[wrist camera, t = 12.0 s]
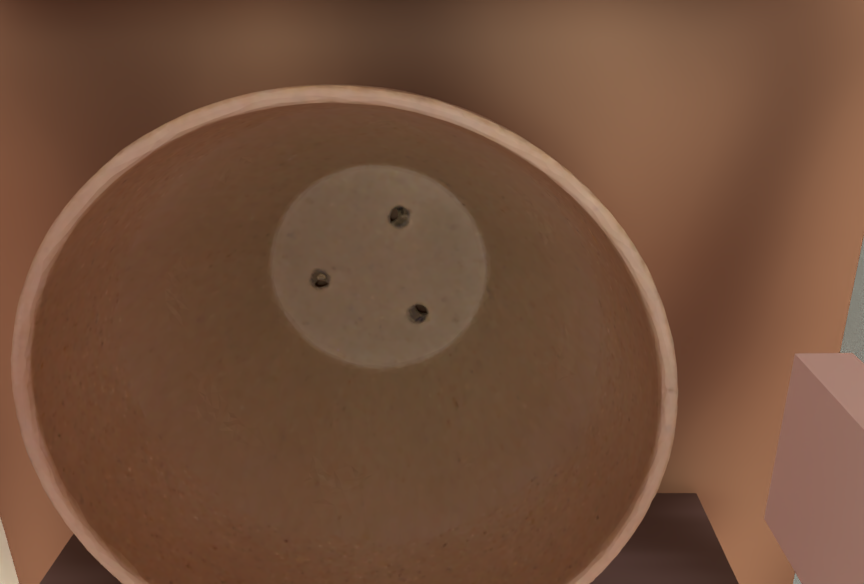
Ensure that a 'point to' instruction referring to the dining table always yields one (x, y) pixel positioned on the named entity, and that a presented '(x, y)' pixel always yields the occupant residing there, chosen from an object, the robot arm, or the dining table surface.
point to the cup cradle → (552, 133)
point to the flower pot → (343, 352)
